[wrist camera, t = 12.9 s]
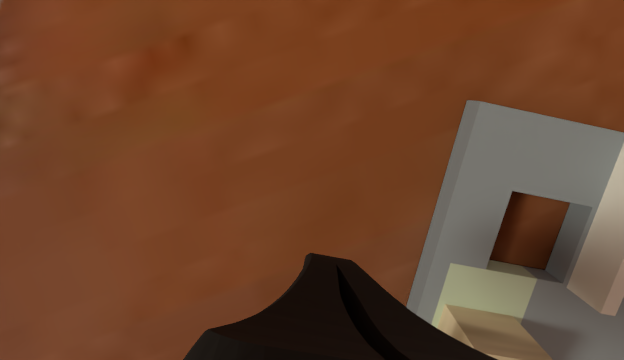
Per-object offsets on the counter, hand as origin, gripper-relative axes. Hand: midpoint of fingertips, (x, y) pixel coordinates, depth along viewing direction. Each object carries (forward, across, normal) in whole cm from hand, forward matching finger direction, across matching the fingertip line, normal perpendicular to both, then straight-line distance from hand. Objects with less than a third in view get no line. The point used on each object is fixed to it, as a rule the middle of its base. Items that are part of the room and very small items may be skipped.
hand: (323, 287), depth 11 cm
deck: (+10, -16, +1) cm, 19 cm away
